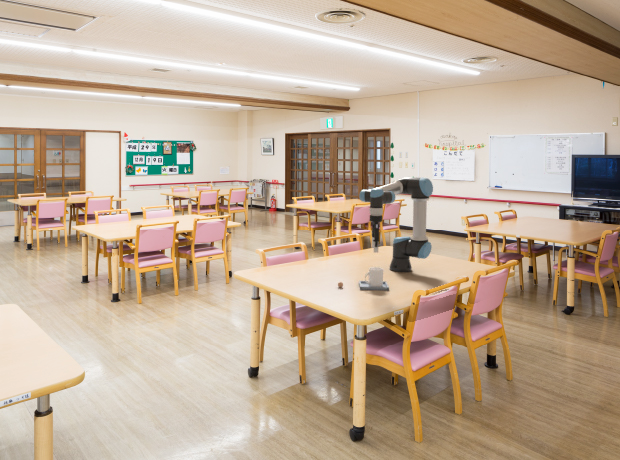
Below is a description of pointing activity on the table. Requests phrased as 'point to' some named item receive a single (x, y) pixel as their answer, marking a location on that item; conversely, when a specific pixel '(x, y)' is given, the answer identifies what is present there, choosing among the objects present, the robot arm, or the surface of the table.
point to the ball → (340, 284)
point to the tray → (366, 287)
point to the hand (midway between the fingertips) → (374, 250)
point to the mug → (375, 277)
